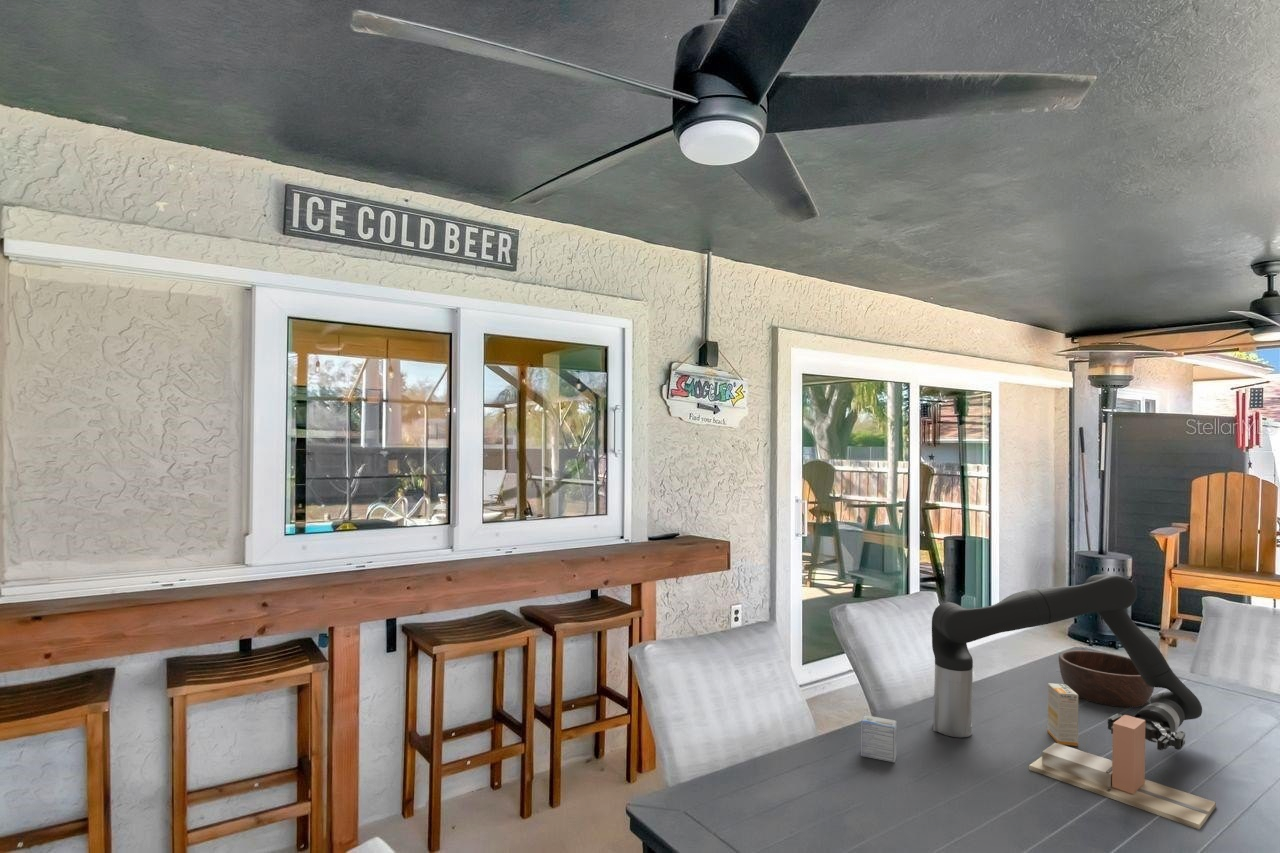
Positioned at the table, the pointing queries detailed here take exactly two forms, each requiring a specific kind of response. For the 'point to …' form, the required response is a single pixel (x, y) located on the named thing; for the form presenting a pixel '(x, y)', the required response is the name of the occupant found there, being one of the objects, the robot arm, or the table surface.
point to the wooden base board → (1098, 779)
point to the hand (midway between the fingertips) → (1136, 738)
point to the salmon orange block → (1128, 754)
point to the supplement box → (1062, 714)
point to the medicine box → (879, 738)
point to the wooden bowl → (1104, 678)
